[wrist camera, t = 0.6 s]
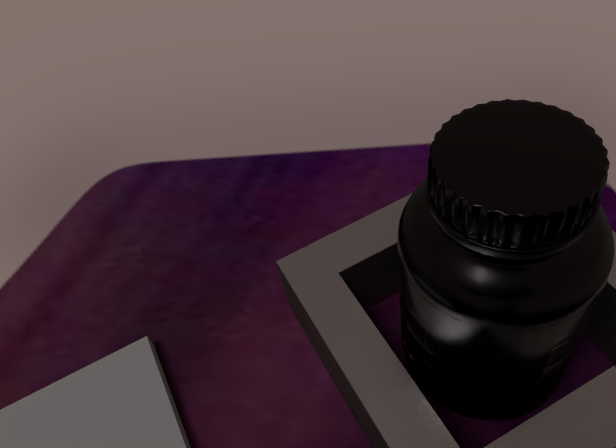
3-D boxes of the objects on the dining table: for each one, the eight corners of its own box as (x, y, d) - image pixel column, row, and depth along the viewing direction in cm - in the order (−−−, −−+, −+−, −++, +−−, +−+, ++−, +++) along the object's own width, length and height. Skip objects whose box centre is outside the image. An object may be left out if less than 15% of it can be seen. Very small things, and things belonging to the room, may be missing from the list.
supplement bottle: (516, 267, 27) (574, 55, 17) (592, 399, 22) (724, 208, 13) (380, 303, 26) (367, 107, 17) (431, 444, 22) (449, 281, 13)
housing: (709, 396, 22) (759, 351, 19) (446, 573, 19) (454, 554, 16) (497, 200, 29) (508, 145, 26) (290, 308, 27) (276, 261, 24)
